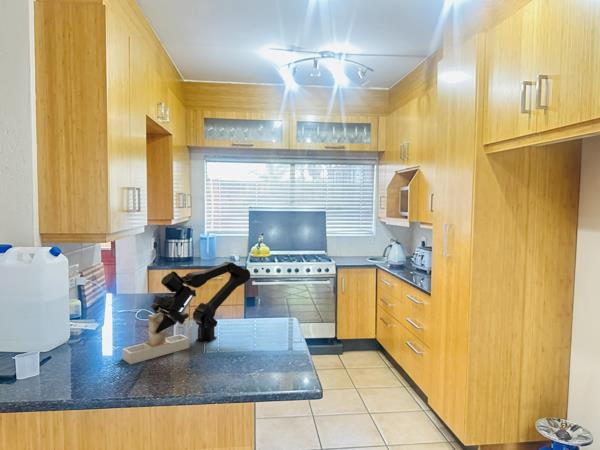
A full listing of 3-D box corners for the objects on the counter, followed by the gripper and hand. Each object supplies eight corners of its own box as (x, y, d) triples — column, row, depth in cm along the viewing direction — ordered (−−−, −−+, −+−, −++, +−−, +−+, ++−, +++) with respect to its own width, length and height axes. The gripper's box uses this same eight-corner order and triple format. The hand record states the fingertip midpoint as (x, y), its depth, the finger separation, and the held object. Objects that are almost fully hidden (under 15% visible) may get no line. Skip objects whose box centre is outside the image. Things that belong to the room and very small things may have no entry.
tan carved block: (160, 344, 160) (160, 312, 159) (165, 347, 158) (165, 314, 157) (148, 347, 157) (148, 315, 156) (153, 350, 154) (152, 317, 153)
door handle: (139, 315, 203) (152, 320, 191) (176, 308, 217) (190, 313, 205) (140, 322, 203) (152, 327, 191) (176, 314, 217) (190, 319, 205)
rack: (180, 343, 168) (180, 333, 168) (189, 347, 163) (189, 337, 163) (122, 358, 151) (122, 347, 151) (130, 364, 146) (130, 352, 146)
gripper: (155, 284, 165) (128, 315, 158) (177, 290, 152) (150, 325, 145) (172, 299, 171) (148, 330, 164) (195, 307, 158) (170, 341, 151)
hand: (153, 331), depth 156 cm, fingers closed on tan carved block, 4 cm apart
